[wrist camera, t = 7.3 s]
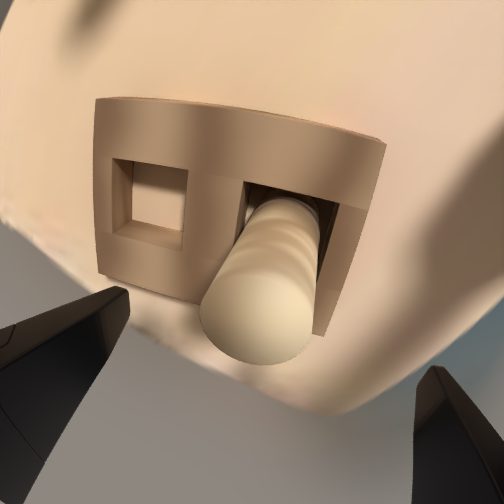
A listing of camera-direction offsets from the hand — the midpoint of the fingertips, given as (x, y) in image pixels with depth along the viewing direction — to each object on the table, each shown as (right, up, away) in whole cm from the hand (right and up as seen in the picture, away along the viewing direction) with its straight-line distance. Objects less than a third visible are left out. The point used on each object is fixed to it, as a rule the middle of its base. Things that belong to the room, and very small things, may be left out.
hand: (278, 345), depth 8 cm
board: (-3, +5, +11) cm, 13 cm away
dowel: (+1, +5, +11) cm, 12 cm away
